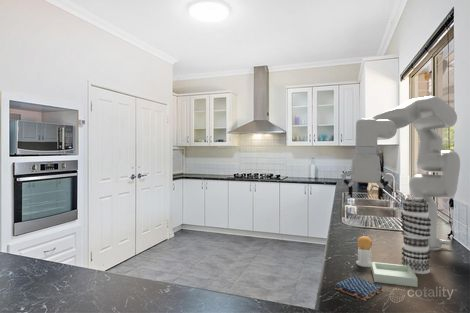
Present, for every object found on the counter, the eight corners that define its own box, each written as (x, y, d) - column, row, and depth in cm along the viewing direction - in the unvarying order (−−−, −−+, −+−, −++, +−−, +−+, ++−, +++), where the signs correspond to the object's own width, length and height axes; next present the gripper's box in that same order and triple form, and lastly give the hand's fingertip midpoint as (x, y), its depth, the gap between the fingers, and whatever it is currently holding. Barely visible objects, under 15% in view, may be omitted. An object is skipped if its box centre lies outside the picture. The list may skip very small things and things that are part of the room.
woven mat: (332, 290, 94) (332, 283, 94) (352, 281, 101) (352, 275, 101) (365, 303, 86) (365, 295, 86) (384, 292, 92) (384, 285, 92)
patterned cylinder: (394, 266, 113) (394, 196, 113) (413, 263, 116) (413, 195, 116) (417, 275, 104) (417, 200, 104) (437, 272, 108) (437, 198, 108)
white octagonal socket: (372, 263, 117) (372, 246, 117) (373, 268, 111) (373, 251, 111) (356, 261, 119) (356, 245, 119) (356, 266, 113) (356, 249, 113)
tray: (409, 273, 107) (409, 265, 107) (417, 287, 95) (417, 278, 95) (371, 268, 111) (371, 261, 111) (374, 281, 99) (374, 273, 99)
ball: (371, 248, 117) (371, 235, 117) (372, 252, 112) (372, 238, 112) (357, 247, 118) (357, 234, 118) (357, 251, 113) (357, 237, 113)
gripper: (390, 152, 118) (389, 198, 117) (341, 152, 124) (340, 195, 123) (393, 152, 111) (392, 200, 110) (341, 151, 117) (340, 197, 116)
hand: (365, 198), depth 117 cm, fingers open, 9 cm apart
